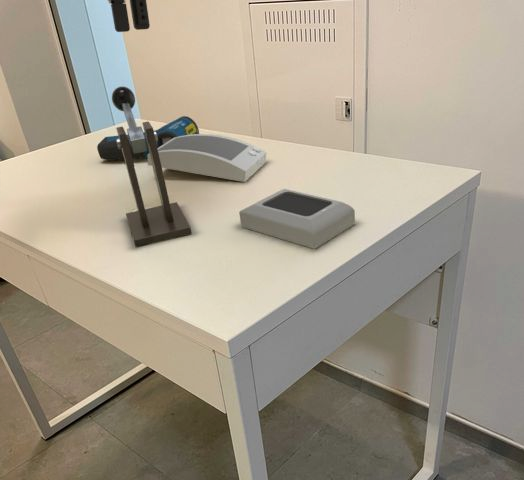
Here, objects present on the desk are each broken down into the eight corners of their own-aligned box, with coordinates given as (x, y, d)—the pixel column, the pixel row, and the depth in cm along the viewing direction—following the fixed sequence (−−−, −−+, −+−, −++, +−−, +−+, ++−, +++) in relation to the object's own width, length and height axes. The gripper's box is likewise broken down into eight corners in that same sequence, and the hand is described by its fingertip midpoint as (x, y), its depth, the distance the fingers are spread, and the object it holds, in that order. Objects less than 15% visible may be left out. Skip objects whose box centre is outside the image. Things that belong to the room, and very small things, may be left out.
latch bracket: (127, 219, 94) (101, 124, 85) (178, 208, 96) (157, 113, 87) (135, 247, 85) (107, 143, 76) (191, 233, 87) (170, 130, 77)
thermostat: (247, 183, 103) (243, 152, 99) (151, 179, 110) (144, 150, 107) (267, 163, 111) (264, 134, 107) (177, 160, 118) (171, 133, 115)
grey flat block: (279, 183, 90) (354, 200, 81) (281, 205, 92) (354, 224, 83) (238, 204, 85) (313, 224, 76) (241, 226, 87) (314, 249, 78)
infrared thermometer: (130, 149, 133) (203, 143, 126) (100, 168, 123) (178, 162, 116) (121, 122, 129) (197, 114, 122) (91, 139, 120) (170, 132, 112)
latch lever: (112, 104, 89) (107, 83, 86) (134, 100, 90) (130, 79, 86) (129, 158, 83) (124, 138, 80) (152, 153, 84) (149, 133, 80)
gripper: (69, -97, 79) (94, 34, 87) (99, -122, 68) (123, 29, 76) (120, -95, 82) (139, 31, 90) (155, -119, 71) (173, 27, 79)
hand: (132, 30), depth 83 cm, fingers open, 8 cm apart
